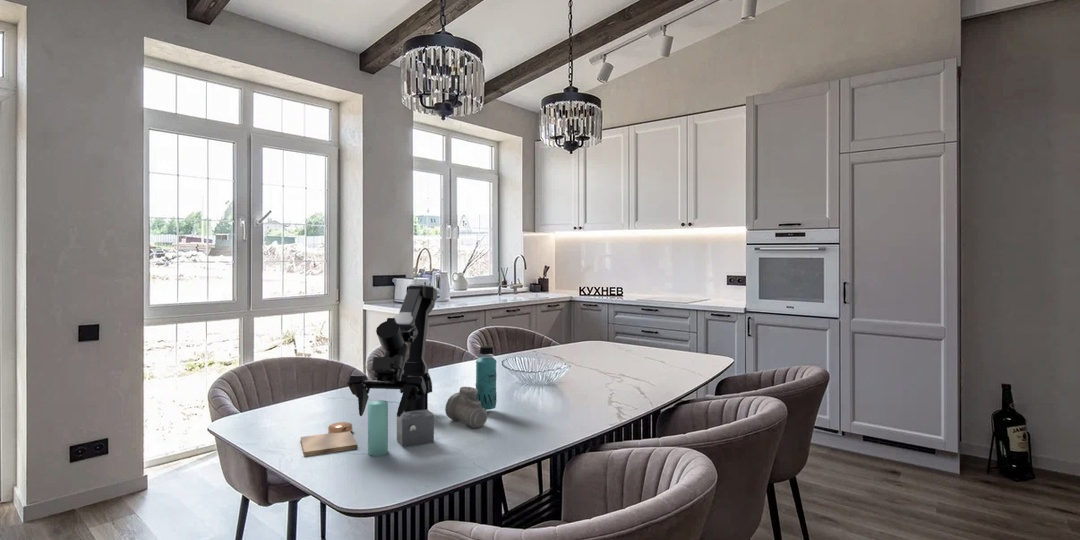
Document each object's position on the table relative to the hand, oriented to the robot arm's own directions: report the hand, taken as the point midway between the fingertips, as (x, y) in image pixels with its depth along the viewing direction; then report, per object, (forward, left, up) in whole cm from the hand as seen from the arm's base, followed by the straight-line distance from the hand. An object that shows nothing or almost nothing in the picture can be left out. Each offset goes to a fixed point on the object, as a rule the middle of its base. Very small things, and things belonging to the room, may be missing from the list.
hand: (379, 415), depth 134 cm
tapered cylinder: (0, +1, -9) cm, 9 cm away
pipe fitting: (-27, -11, -9) cm, 30 cm away
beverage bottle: (-36, -20, -9) cm, 42 cm away
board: (+10, -10, -9) cm, 17 cm away
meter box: (-10, -3, -9) cm, 13 cm away
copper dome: (+6, -19, -9) cm, 22 cm away
